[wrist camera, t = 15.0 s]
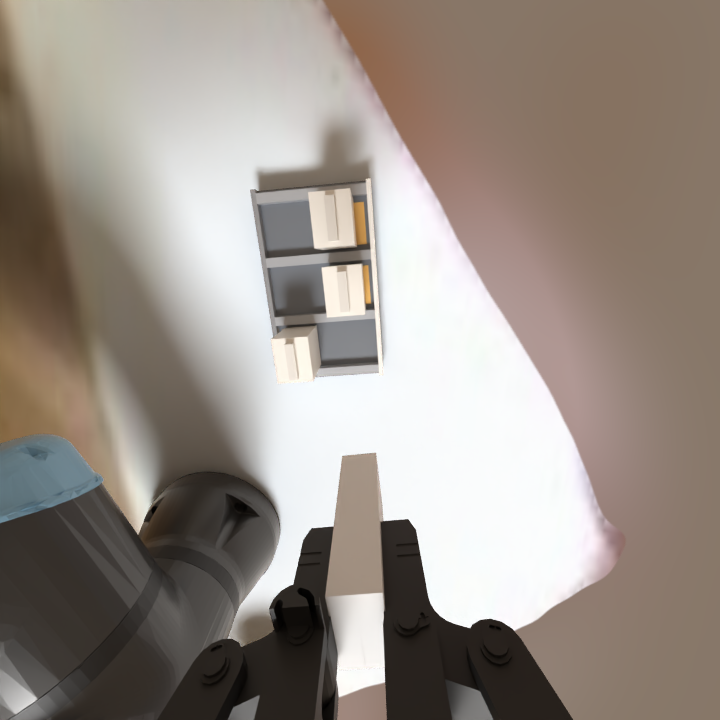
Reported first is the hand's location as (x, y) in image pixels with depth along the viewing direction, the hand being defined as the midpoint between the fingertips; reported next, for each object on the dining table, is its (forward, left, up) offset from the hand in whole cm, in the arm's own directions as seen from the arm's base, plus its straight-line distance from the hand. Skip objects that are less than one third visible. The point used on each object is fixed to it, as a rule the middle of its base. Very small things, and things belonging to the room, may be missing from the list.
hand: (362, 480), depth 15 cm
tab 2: (-2, +13, -18) cm, 22 cm away
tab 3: (-1, +7, -18) cm, 20 cm away
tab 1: (-6, +2, -18) cm, 19 cm away
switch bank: (-3, +7, -20) cm, 21 cm away
